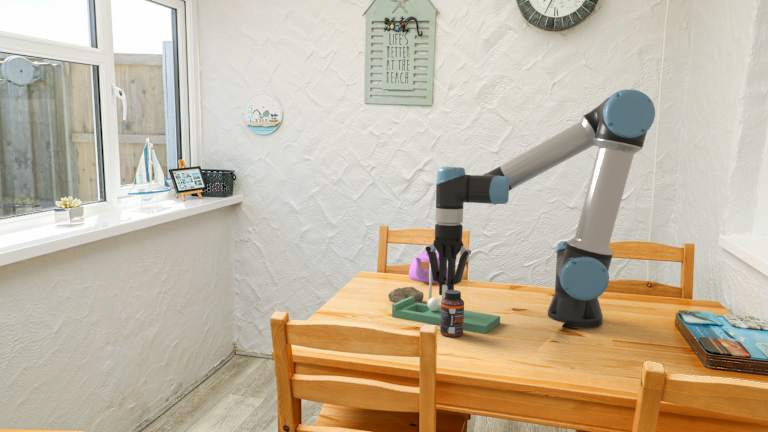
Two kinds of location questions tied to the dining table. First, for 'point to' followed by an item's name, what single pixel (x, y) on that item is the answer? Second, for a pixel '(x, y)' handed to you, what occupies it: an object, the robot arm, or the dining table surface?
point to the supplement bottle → (452, 314)
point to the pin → (427, 266)
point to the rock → (405, 294)
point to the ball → (434, 304)
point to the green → (470, 323)
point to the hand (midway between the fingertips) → (445, 307)
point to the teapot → (419, 273)
